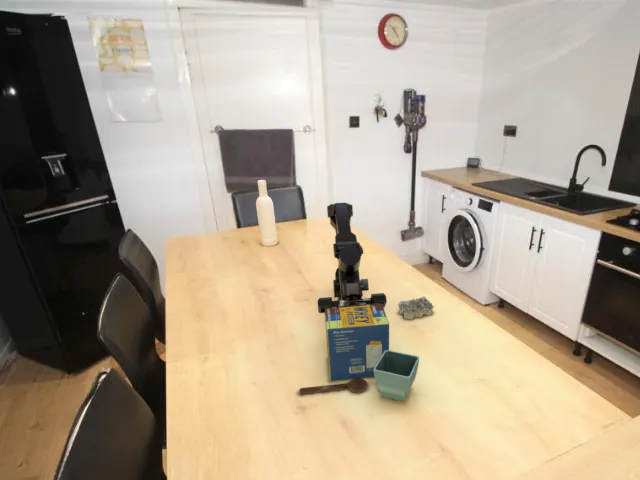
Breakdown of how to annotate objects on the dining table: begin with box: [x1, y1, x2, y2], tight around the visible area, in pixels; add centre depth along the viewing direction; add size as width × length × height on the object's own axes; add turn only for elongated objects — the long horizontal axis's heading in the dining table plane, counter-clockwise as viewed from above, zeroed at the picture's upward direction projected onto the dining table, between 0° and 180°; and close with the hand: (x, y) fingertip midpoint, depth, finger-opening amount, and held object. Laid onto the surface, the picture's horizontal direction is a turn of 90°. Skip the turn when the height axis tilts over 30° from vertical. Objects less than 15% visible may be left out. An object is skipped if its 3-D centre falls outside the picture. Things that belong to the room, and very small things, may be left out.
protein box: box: [324, 304, 390, 382], centre depth 105 cm, size 10×15×16 cm
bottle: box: [255, 179, 279, 247], centre depth 192 cm, size 8×8×30 cm
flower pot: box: [373, 349, 420, 402], centre depth 97 cm, size 9×9×9 cm
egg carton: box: [397, 296, 435, 320], centre depth 134 cm, size 11×8×4 cm
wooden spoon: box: [298, 378, 368, 395], centre depth 100 cm, size 16×5×1 cm, turn 100°
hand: (354, 333), depth 110 cm, fingers closed, pressing on protein box
